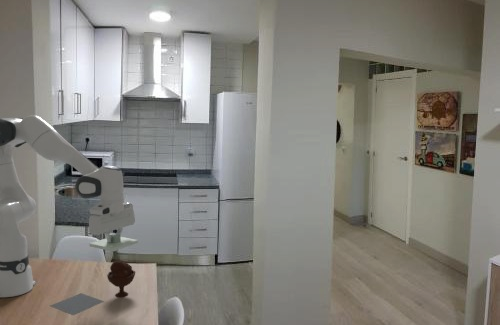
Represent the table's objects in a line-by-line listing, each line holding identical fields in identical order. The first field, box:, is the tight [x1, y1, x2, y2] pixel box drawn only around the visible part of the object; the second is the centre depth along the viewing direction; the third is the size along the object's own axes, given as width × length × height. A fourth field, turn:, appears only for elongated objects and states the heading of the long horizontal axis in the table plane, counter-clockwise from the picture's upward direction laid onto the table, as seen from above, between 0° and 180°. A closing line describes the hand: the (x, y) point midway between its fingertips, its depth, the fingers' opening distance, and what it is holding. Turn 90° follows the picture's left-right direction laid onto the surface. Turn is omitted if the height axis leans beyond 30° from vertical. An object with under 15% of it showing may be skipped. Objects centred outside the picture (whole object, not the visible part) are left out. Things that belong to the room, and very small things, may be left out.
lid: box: [89, 232, 139, 252], centre depth 166 cm, size 13×13×4 cm
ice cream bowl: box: [106, 260, 136, 298], centre depth 170 cm, size 11×11×15 cm
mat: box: [50, 293, 105, 316], centre depth 162 cm, size 14×14×1 cm
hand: (113, 240), depth 166 cm, fingers closed on lid, 2 cm apart
